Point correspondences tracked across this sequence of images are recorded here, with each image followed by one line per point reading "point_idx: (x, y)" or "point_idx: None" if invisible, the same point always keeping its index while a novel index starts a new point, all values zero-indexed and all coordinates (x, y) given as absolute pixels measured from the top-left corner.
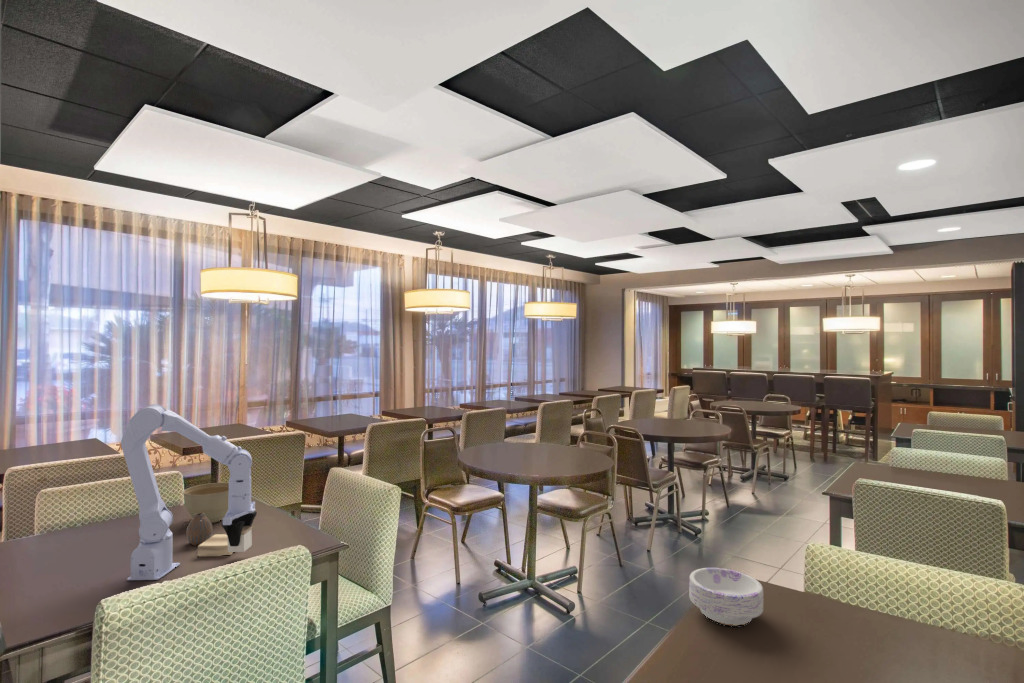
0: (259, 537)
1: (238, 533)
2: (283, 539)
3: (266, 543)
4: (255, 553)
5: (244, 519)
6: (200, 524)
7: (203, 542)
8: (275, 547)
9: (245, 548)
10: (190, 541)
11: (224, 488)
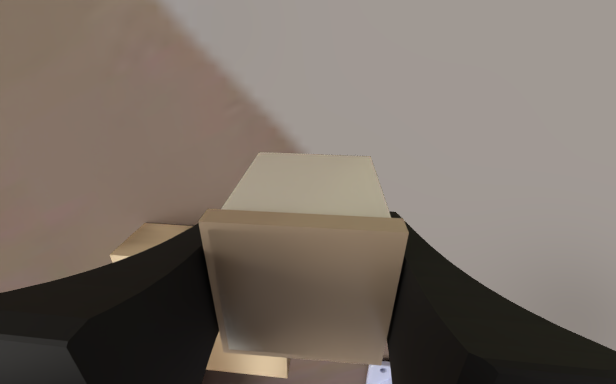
0: (53, 190)
1: (465, 275)
2: (22, 33)
3: (110, 119)
4: (254, 120)
5: (171, 358)
6: None
7: (246, 372)
8: (151, 28)
9: (350, 161)
10: None
11: None
